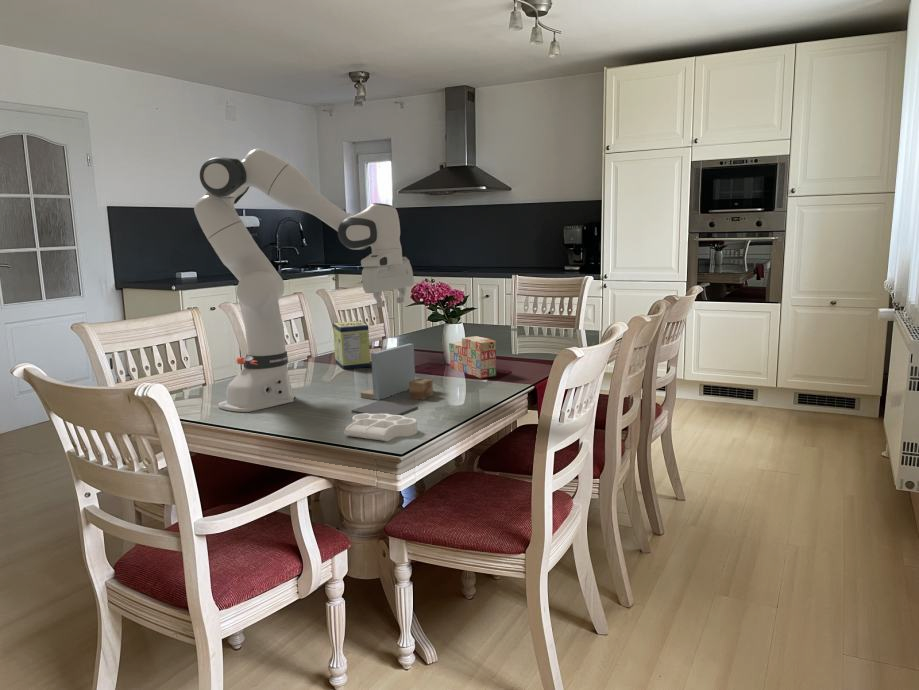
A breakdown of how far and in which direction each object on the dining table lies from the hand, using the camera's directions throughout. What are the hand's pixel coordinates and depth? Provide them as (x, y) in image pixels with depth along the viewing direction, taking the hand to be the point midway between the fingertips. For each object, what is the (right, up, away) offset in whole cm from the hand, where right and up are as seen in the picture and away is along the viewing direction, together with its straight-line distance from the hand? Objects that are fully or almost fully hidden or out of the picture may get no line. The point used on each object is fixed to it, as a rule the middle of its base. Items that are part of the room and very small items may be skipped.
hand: (391, 305), depth 202 cm
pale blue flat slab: (-1, -27, +6) cm, 27 cm away
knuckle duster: (+1, -34, -34) cm, 48 cm away
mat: (0, -30, -14) cm, 34 cm away
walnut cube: (+9, -28, 0) cm, 29 cm away
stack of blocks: (+25, -22, +33) cm, 47 cm away
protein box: (-20, -20, +51) cm, 58 cm away
